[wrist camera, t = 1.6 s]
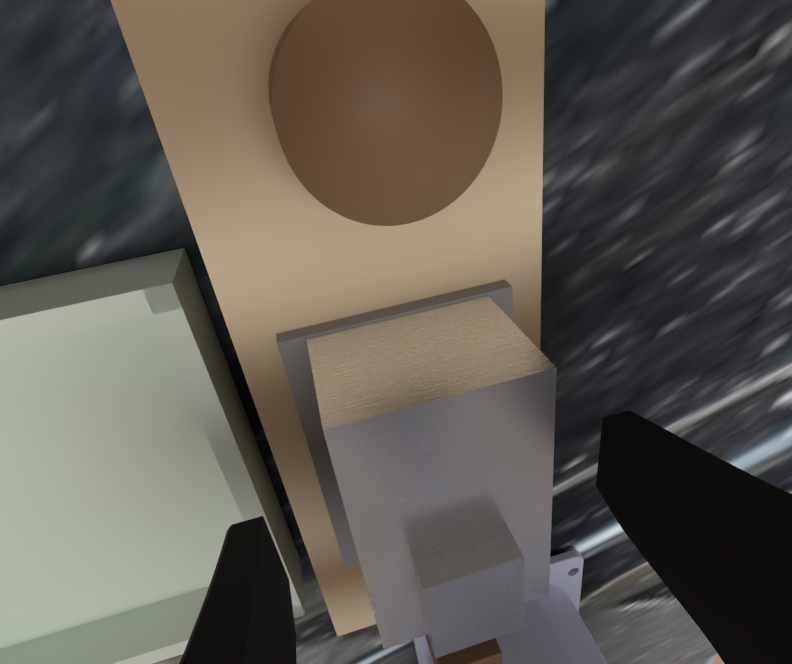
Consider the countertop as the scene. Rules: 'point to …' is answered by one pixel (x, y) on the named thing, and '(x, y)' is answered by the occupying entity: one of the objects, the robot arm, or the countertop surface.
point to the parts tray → (119, 464)
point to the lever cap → (442, 467)
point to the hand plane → (347, 194)
